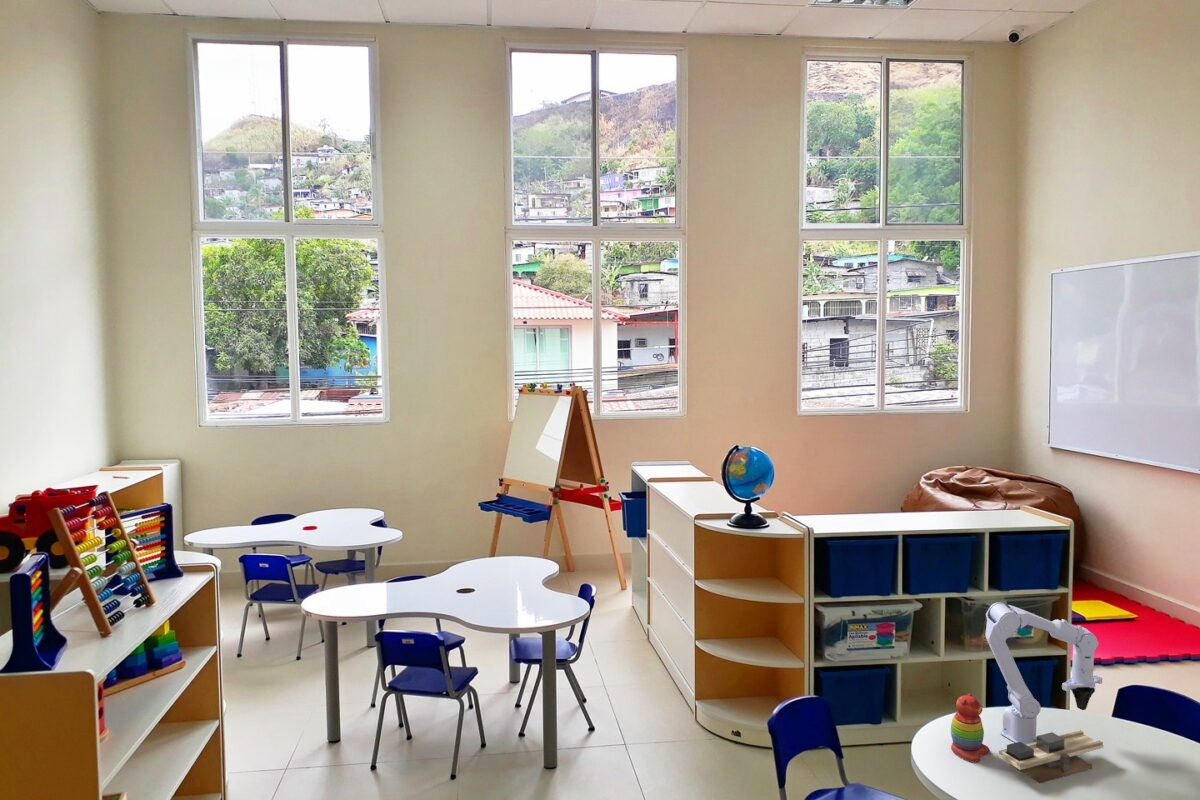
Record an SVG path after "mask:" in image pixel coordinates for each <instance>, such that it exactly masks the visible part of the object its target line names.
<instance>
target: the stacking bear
mask: <svg viewBox="0 0 1200 800" xmlns="http://www.w3.org/2000/svg"><path fill="white" fill-rule="evenodd" d="M955 704H956V710H957V712H955V714H954V715H953V716H952V721H951V724H950V737H951V740H952V743H951V745H950V746H951V747H950V749H951V752H952V753H954V755H956V754H957V755H958V757H959V756H960V757H959V758H961V759H962V758H963V760H965V761H967V760H968V762H970V761H971V762H970V763H979V762H980V761H981V757H983V756H986V755H989V754H990V753H991V751H990V750H991V749H990V748H989V746H988V745H986V744H984V743H983V741H984V735H985V734H984V731H985V730H984V726H983V721H982V717H981V716H980V715H981V714H982V712H983V707H982V705H981V703H980V702H979V701H978V699H976V698H975V697H974V696H972V693H967V694H966V695H965V694H963V695H960V696H959V697H958V698H957V700H956V703H955ZM957 755H956V756H957ZM978 761H979V762H978Z"/></svg>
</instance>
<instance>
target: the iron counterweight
mask: <svg viewBox="0 0 1200 800" xmlns="http://www.w3.org/2000/svg"><path fill="white" fill-rule="evenodd" d="M1006 749H1007V754H1008V755H1010V756H1011V757H1013V758H1014V759H1016V760H1018V761H1022V760H1026V759H1030V758H1034V749H1032V748H1030V747H1029V746H1027V745H1025V744H1023V743H1022V742H1016V743H1015V742H1013V743H1010V744H1006Z"/></svg>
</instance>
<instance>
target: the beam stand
mask: <svg viewBox="0 0 1200 800" xmlns="http://www.w3.org/2000/svg"><path fill="white" fill-rule="evenodd" d="M1034 742H1037V739H1034ZM1009 765H1010V766H1011V767H1014V768H1015V769H1017V770H1018V771H1020V772H1021V773H1022V774H1025V775H1026V776H1028V777H1029V778H1031V779H1033V780H1034V781H1035V782H1037V783H1039V784H1042V783H1046V782H1048V781H1049V782H1050V781H1053V780H1057V779H1061V778H1064V777H1066V776H1067V775H1068V776H1070V775H1074V774H1077V773H1078V774H1079V773H1082V772H1085V771H1088V770H1092V769H1093V764H1092V763H1089V762H1088V761H1087V760H1084V759H1083V758H1081V757H1080V756H1077V755H1075V756H1071V757H1070V756H1069V755H1068V754H1063V755H1061V759H1060V760H1056V761H1052V762H1048V763H1044V764H1041V765H1037V766H1033V767H1029V768H1025V769H1022V770H1019V769H1018V768H1016V767H1015V766H1013V765H1011V764H1010V763H1009ZM1063 776H1064V777H1063ZM1060 777H1061V778H1060Z"/></svg>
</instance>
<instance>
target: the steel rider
mask: <svg viewBox="0 0 1200 800" xmlns="http://www.w3.org/2000/svg"><path fill="white" fill-rule="evenodd" d="M1036 738H1037V743H1036V747H1037V748H1039V749H1040V750H1042V751H1044V752H1045V753H1047V754H1049V753H1053V752H1057V751H1061V750H1064V740H1065V739H1064V738H1062V737H1060V735H1058V734H1056V733H1054V732H1052V731H1051V732H1048V733H1047V732H1046V733H1044V734H1039V735H1036Z"/></svg>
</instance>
